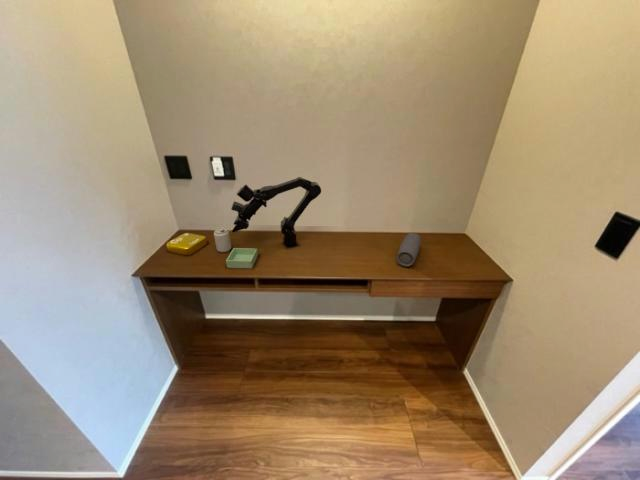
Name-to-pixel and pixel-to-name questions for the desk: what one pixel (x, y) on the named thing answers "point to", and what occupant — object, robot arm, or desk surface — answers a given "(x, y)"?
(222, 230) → the can
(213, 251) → the desk surface
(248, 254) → the tray
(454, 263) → the desk surface
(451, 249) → the desk surface
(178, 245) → the element tile
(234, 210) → the robot arm
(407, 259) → the bluetooth speaker
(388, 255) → the desk surface
